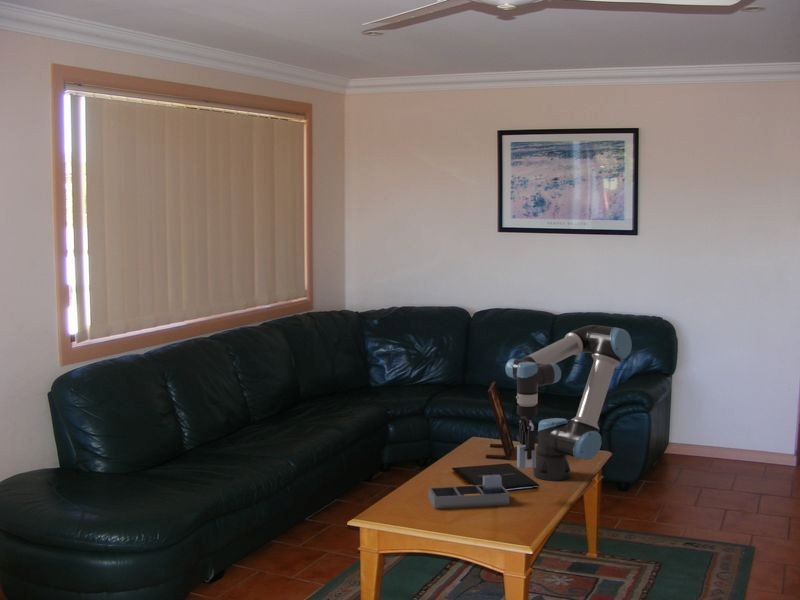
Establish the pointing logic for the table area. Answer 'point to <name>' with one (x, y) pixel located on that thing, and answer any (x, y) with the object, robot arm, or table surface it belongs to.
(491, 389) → the picture frame
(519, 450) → the block
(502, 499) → the rack
